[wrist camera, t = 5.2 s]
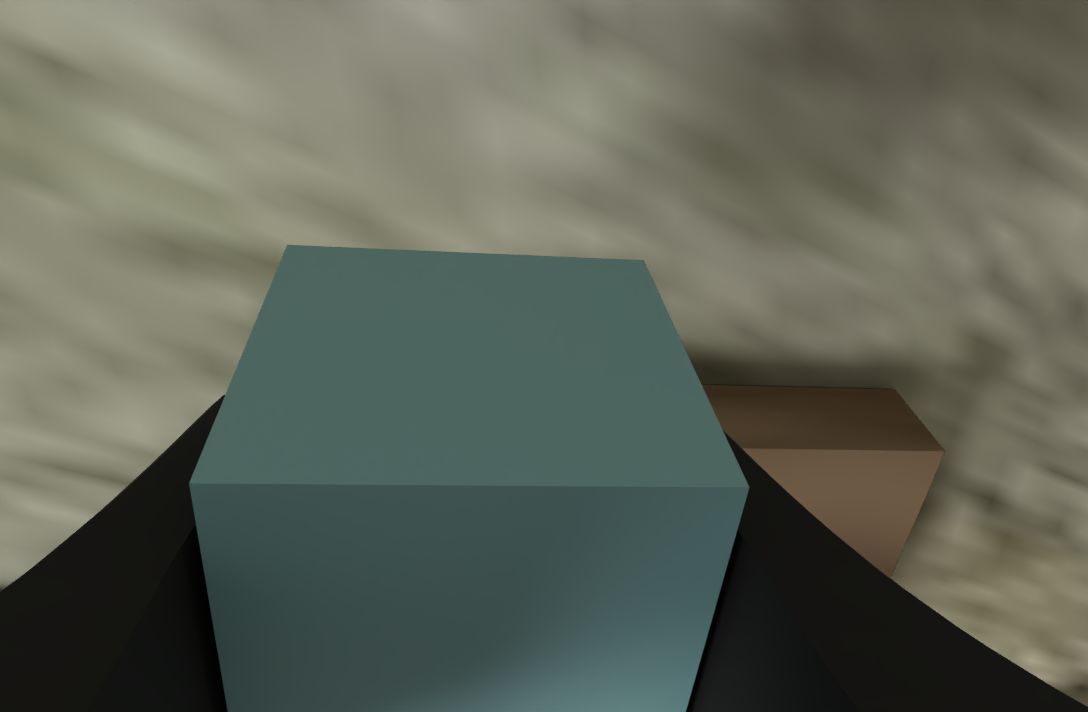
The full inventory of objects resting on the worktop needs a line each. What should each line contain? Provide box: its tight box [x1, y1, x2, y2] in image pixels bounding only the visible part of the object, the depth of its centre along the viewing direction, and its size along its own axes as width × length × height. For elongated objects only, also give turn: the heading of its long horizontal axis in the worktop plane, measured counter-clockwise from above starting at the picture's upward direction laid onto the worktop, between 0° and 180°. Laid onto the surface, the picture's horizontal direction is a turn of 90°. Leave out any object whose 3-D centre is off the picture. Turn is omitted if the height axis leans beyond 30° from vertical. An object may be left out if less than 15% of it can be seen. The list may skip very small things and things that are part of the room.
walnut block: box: [702, 385, 945, 578], centre depth 22 cm, size 10×10×2 cm
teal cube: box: [189, 245, 749, 712], centre depth 10 cm, size 4×4×4 cm
